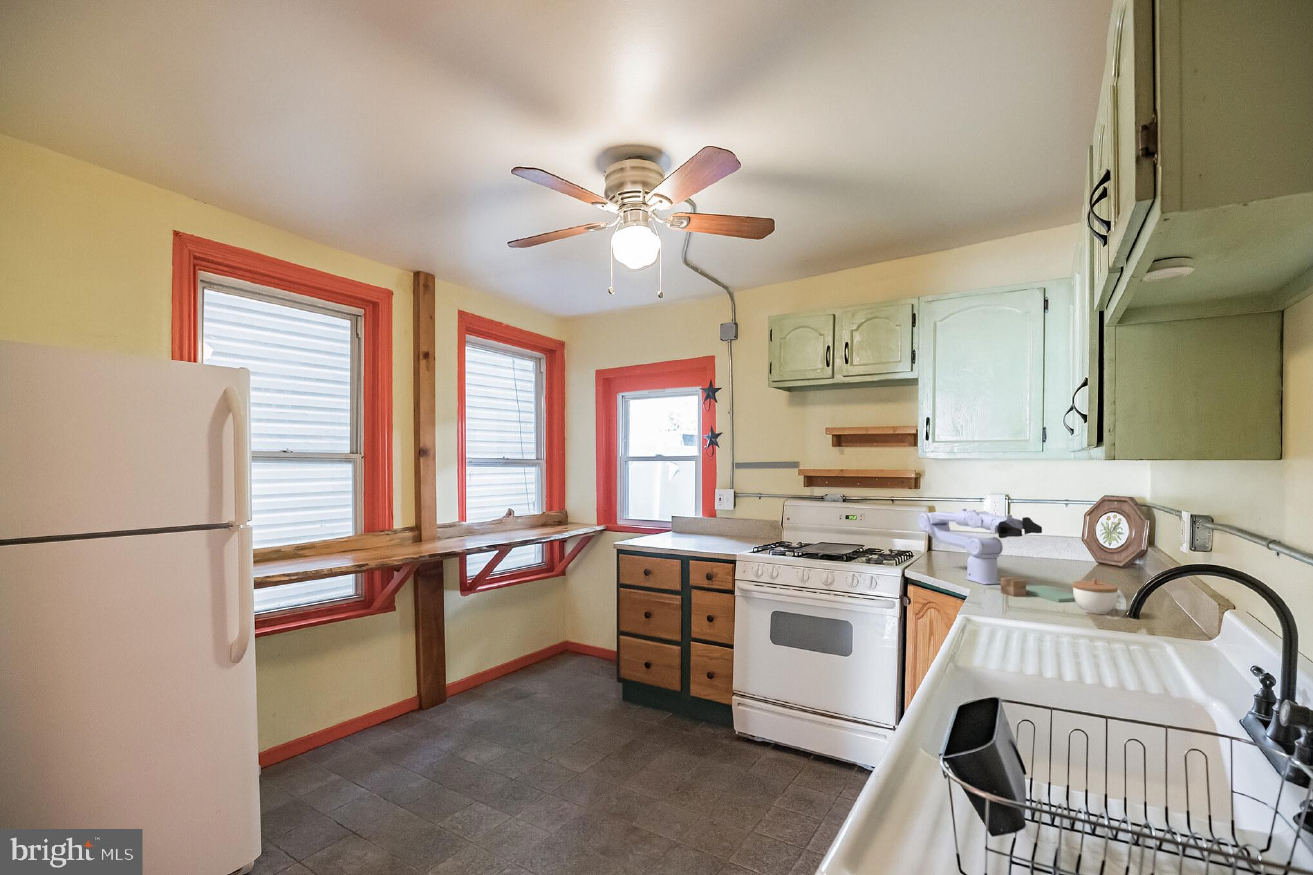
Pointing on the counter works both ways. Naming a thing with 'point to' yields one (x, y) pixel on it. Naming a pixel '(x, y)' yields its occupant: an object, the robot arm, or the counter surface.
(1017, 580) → the walnut block
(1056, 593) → the sage board
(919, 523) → the robot arm
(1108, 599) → the lidded jar
